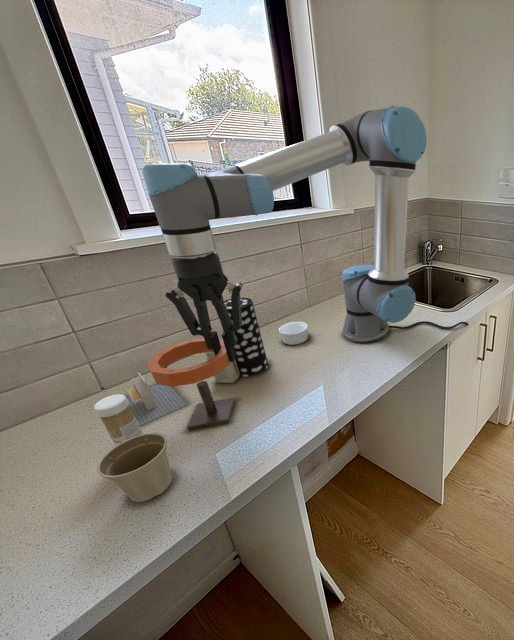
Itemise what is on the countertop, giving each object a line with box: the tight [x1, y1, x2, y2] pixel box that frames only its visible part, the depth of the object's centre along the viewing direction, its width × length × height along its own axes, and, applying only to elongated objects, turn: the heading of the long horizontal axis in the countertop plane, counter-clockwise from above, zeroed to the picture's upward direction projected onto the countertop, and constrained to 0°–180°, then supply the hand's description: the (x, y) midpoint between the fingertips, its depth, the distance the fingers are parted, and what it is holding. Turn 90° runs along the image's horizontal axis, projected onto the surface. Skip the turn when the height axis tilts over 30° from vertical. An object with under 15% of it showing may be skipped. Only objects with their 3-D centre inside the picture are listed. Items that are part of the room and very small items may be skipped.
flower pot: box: [96, 432, 173, 503], centre depth 59 cm, size 9×9×9 cm
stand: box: [186, 380, 236, 431], centre depth 76 cm, size 8×8×9 cm
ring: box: [147, 337, 231, 388], centre depth 71 cm, size 14×14×3 cm
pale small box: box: [204, 352, 241, 384], centre depth 88 cm, size 5×4×10 cm
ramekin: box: [278, 321, 309, 346], centre depth 109 cm, size 9×9×4 cm
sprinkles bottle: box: [93, 393, 144, 447], centre depth 65 cm, size 5×5×13 cm
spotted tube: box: [220, 296, 269, 378], centre depth 90 cm, size 8×8×20 cm
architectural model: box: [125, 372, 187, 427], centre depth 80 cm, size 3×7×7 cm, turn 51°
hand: (227, 359), depth 73 cm, fingers closed on ring, 2 cm apart
